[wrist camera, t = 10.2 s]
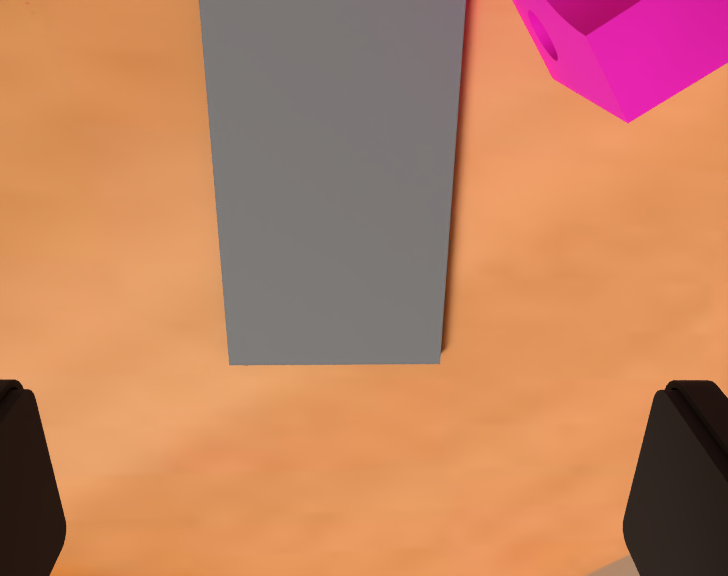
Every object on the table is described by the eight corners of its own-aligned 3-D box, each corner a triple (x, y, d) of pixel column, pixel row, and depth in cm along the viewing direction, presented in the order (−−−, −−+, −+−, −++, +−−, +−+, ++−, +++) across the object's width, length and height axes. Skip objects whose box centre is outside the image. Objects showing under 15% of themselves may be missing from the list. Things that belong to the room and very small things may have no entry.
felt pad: (195, -88, 23) (191, -89, 22) (468, -83, 23) (472, -84, 22) (231, 357, 30) (229, 365, 29) (437, 356, 30) (439, 363, 30)
